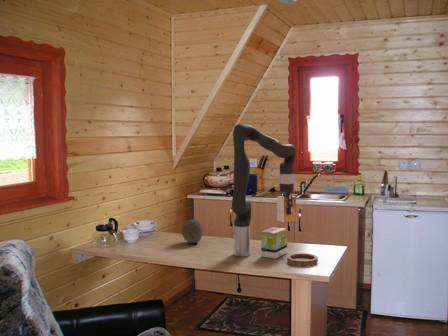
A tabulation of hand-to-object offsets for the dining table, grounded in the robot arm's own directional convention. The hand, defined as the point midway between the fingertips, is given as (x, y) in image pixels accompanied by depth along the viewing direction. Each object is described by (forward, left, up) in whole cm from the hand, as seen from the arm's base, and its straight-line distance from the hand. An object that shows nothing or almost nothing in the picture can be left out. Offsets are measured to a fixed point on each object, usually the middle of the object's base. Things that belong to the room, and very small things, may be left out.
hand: (286, 212), depth 260 cm
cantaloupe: (-46, +61, -28) cm, 81 cm away
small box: (0, 0, -4) cm, 4 cm away
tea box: (-2, +22, -28) cm, 36 cm away
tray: (+9, +4, -28) cm, 30 cm away
